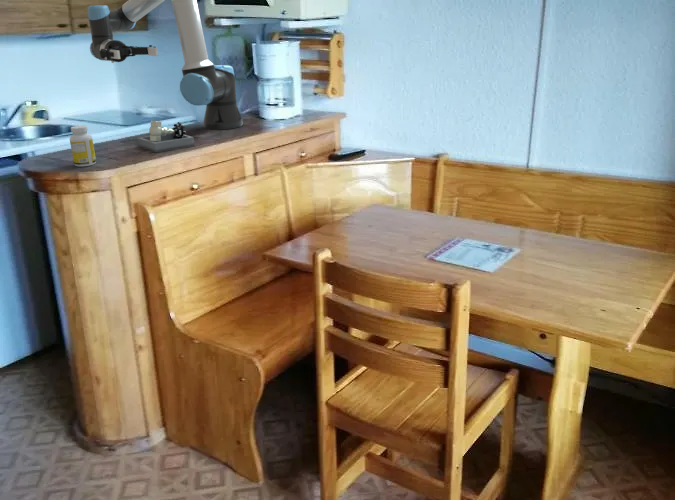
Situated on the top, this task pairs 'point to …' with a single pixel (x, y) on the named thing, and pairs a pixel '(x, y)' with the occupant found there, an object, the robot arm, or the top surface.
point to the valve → (165, 131)
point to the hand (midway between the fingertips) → (138, 53)
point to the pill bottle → (82, 147)
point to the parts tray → (165, 143)
